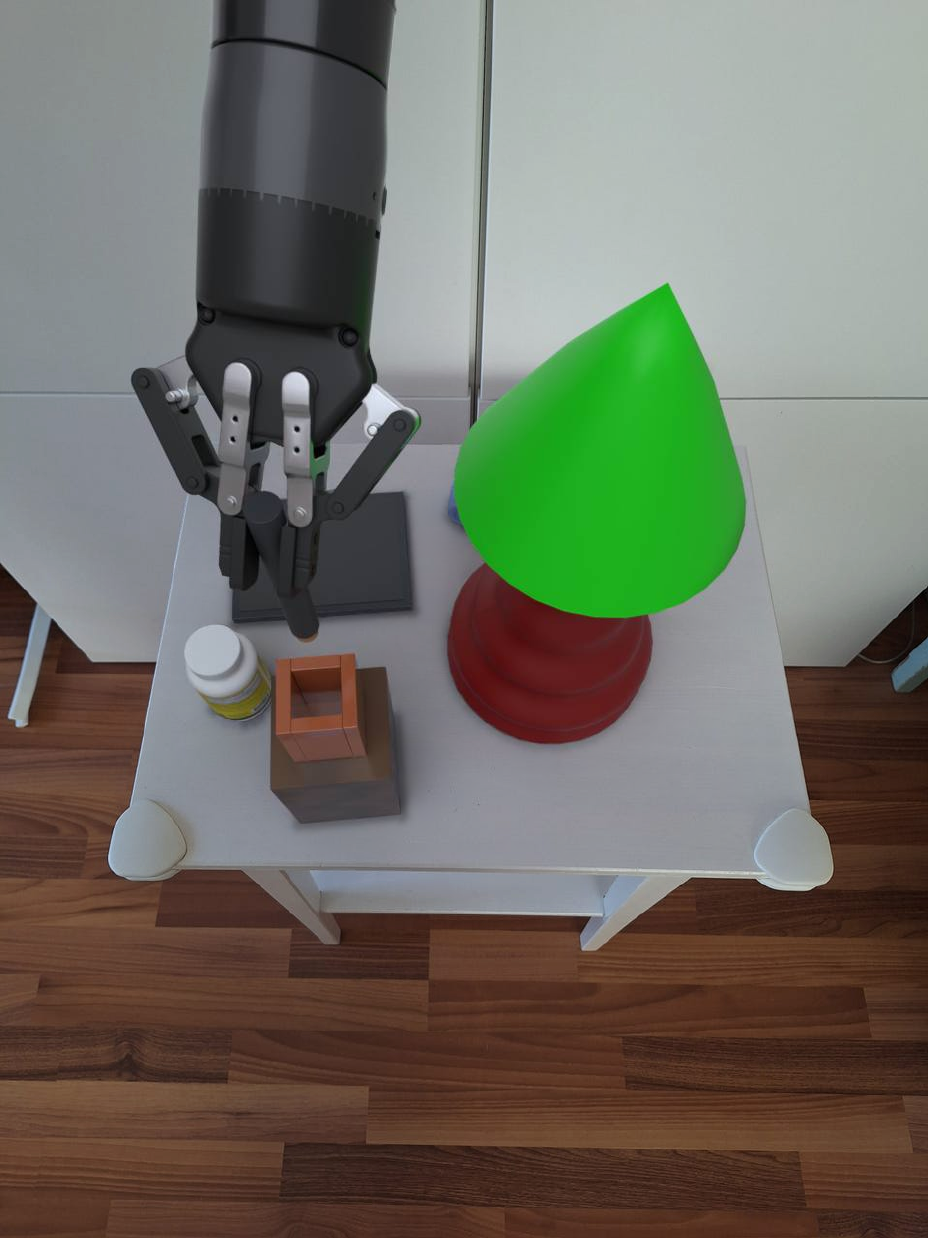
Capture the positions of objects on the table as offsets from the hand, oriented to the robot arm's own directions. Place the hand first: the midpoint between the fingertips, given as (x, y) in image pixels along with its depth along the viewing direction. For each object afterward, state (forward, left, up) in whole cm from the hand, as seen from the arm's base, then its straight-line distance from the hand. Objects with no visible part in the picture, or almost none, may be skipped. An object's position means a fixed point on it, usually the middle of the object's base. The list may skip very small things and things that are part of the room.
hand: (267, 588), depth 38 cm
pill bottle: (-10, +8, -37) cm, 39 cm away
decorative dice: (+14, +27, -37) cm, 48 cm away
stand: (0, 0, -37) cm, 37 cm away
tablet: (-2, +23, -37) cm, 43 cm away
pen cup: (0, 0, -23) cm, 23 cm away
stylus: (0, +2, -10) cm, 10 cm away
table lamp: (+20, +10, -37) cm, 43 cm away
